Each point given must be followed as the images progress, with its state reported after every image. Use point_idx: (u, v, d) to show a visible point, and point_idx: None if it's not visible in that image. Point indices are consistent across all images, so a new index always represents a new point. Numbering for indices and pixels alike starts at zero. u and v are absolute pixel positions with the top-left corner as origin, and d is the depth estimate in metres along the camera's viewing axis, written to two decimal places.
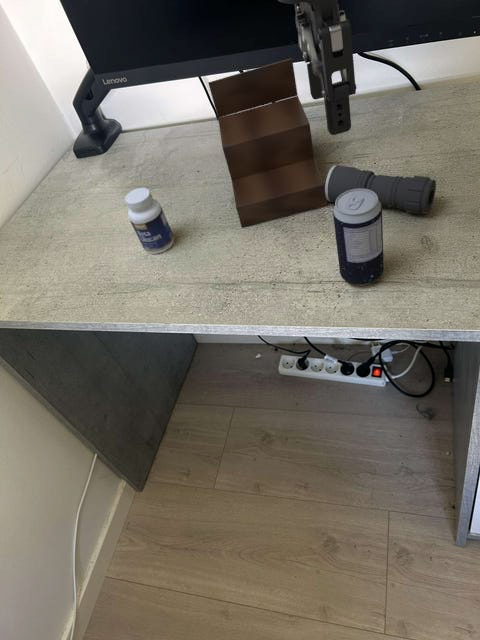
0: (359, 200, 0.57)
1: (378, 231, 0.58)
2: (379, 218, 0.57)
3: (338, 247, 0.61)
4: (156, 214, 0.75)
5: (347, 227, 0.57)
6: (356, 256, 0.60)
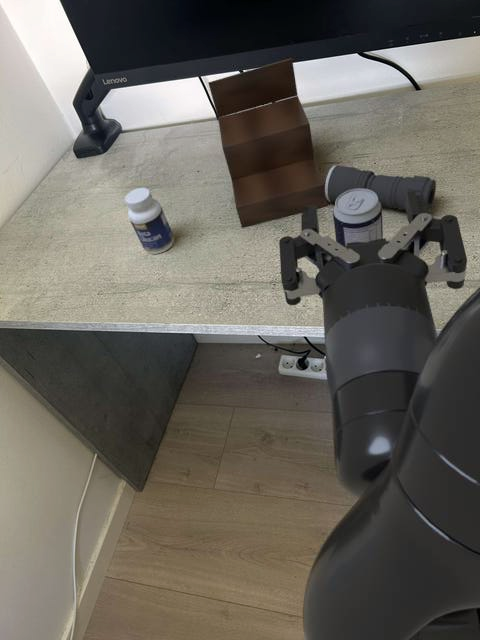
0: (359, 200, 0.57)
1: (378, 231, 0.58)
2: (379, 218, 0.57)
3: None
4: (156, 214, 0.75)
5: (347, 227, 0.57)
6: None
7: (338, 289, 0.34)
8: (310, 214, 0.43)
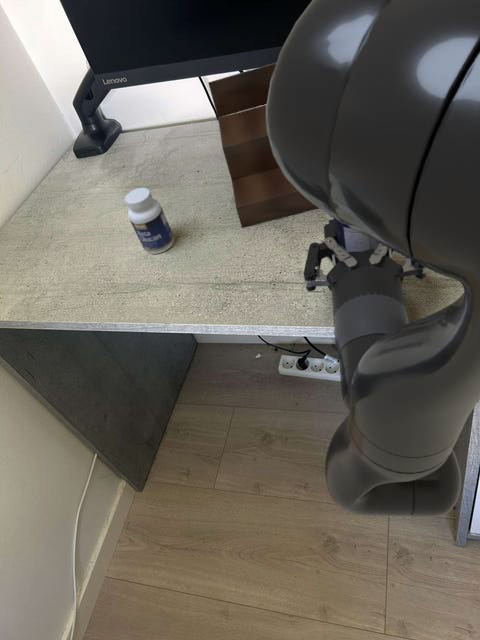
0: None
1: None
2: None
3: None
4: (156, 214, 0.75)
5: (348, 226, 0.57)
6: None
7: (342, 284, 0.52)
8: (330, 226, 0.61)
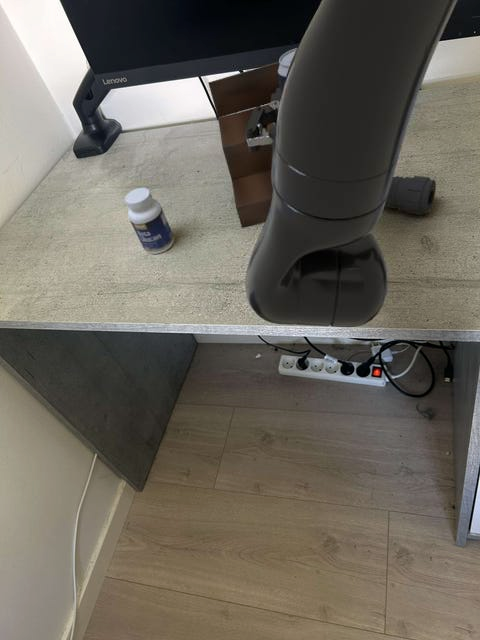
0: None
1: None
2: None
3: None
4: (156, 214, 0.75)
5: None
6: None
7: None
8: (277, 93, 0.58)
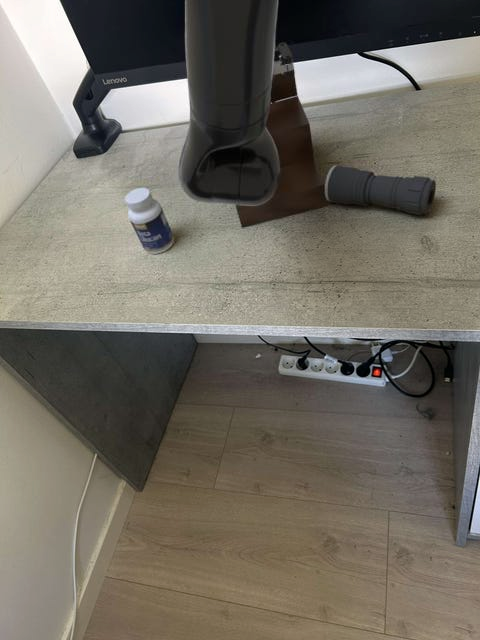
0: None
1: None
2: None
3: None
4: (156, 214, 0.75)
5: None
6: None
7: None
8: None
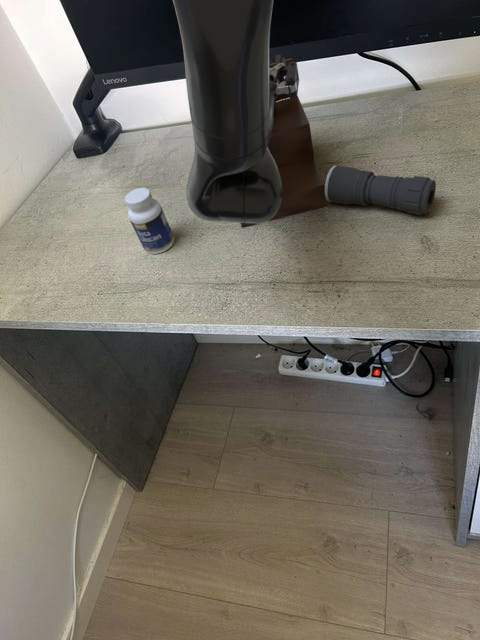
0: None
1: None
2: None
3: None
4: (156, 214, 0.75)
5: None
6: None
7: None
8: None
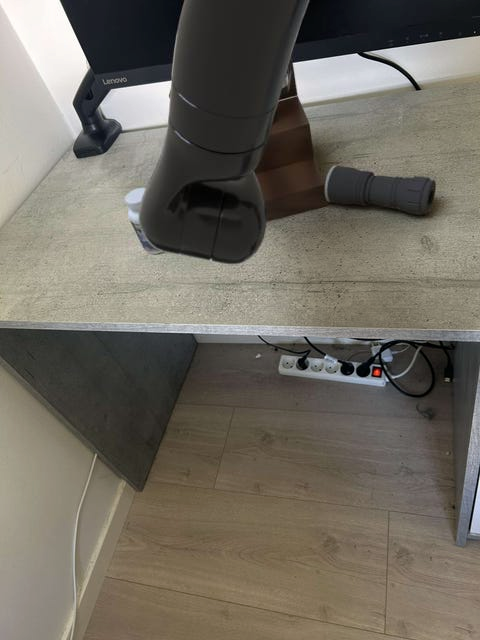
0: None
1: None
2: None
3: None
4: None
5: None
6: None
7: None
8: None
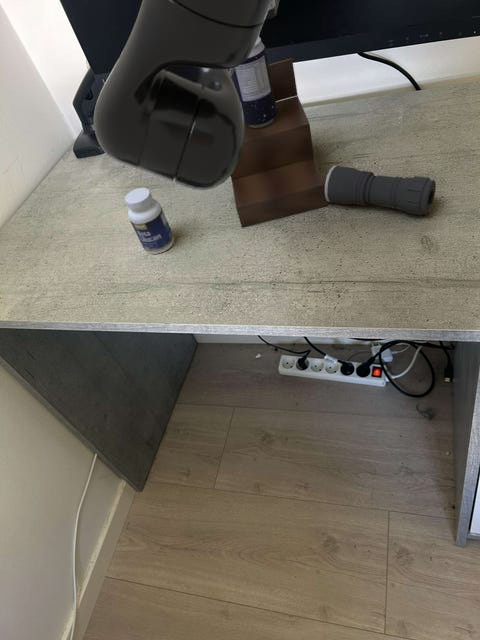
0: None
1: (263, 70, 0.72)
2: (262, 56, 0.71)
3: None
4: (156, 214, 0.75)
5: None
6: (248, 93, 0.74)
7: None
8: None
